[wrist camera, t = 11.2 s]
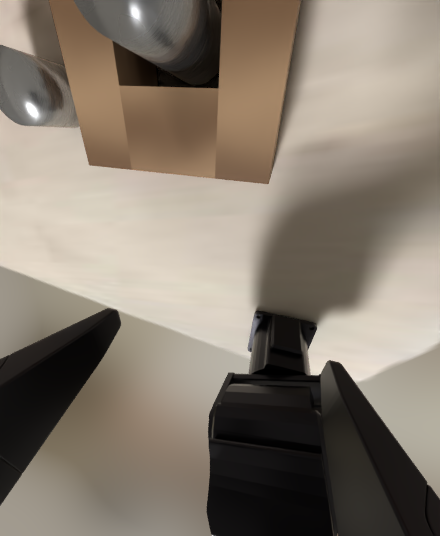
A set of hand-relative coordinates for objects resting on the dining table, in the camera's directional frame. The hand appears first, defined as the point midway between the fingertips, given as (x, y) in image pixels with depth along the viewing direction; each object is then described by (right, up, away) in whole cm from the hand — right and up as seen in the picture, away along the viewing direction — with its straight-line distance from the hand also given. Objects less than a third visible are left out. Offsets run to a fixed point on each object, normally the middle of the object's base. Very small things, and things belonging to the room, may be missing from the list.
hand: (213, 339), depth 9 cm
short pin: (-12, +16, +8) cm, 22 cm away
